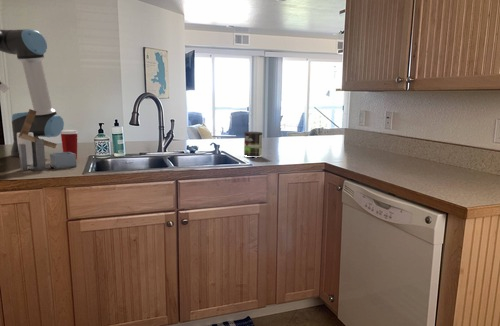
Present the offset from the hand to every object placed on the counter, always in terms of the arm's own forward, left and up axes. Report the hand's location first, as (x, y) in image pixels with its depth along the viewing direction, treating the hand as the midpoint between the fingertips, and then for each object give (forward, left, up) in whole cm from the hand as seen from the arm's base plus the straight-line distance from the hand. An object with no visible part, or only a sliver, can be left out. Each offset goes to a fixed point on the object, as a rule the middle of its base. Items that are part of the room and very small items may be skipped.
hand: (6, 90), depth 159 cm
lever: (+5, +9, -22) cm, 24 cm away
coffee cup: (-13, +28, -34) cm, 46 cm away
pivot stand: (+5, +9, -34) cm, 36 cm away
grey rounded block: (+5, +19, -34) cm, 39 cm away
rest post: (+5, +3, -34) cm, 35 cm away
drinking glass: (-10, +8, -34) cm, 36 cm away
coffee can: (+35, +112, -34) cm, 122 cm away
